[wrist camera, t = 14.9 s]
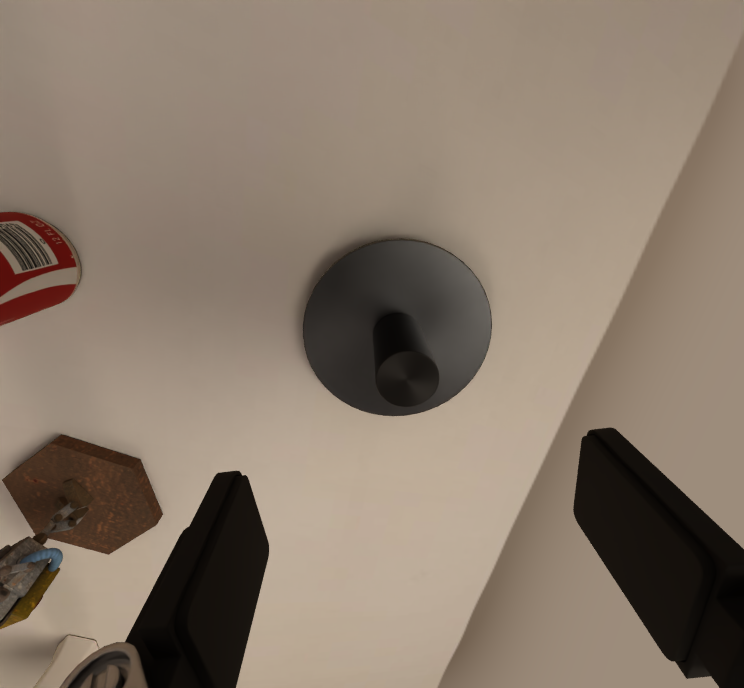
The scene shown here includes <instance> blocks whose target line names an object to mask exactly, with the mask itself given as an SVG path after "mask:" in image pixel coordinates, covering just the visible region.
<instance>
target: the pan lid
mask: <svg viewBox="0 0 744 688" xmlns="http://www.w3.org/2000/svg"><path fill="white" fill-rule="evenodd" d="M491 329H492V320H491V311H490V306H489V301H488V299H487V296H486V293H485V291H484V289H483V287H482V285H481V283H480V282H479V280H478V278H477V277H476V276H475V275H474V273H473V272H472V271H471V269H470V268H469V267H467V266H466V265H465V264H464V263H463V262H462V261H461V260H460V259H458V258H457V257H456V256H454V255H453V254H452V253H450V252H448V251H446V250H445V249H443V248H441V247H439V246H436V245H433V244H431V243H428V242H424V241H419V240H414V239H402V238H399V239H386V240H381V241H376V242H372V243H369V244H366V245H363V246H361V247H359V248H357V249H355V250H353V251H351V252H349V253H347V254H346V255H344V256H343V257H342V258H340V259H339V260H337V261H336V262H335V263H334V264H333V265H332V266H331V267H330V268H329V269H328V270H327V271H326V272H325V273H324V275H323V276H322V277H321V278H320V280H319V281H318V283H317V285H316V286H315V288H314V290H313V292H312V294H311V296H310V298H309V301H308V304H307V307H306V310H305V315H304V322H303V339H304V347H305V351H306V354H307V358H308V360H309V362H310V365H311V367H312V369H313V371H314V372H315V374H316V376H317V377H318V379H319V380H320V381H321V382H322V384H323V385H324V386H325V387H326V388H327V389H328V390H329V391H330V392H331V393H332V394H333V395H334V396H336V397H337V398H339V399H340V400H341V401H343V402H345V403H346V404H348V405H350V406H352V407H354V408H357V409H359V410H361V411H365V412H368V413H372V414H377V415H383V416H404V415H411V414H417V413H420V412H424V411H427V410H430V409H432V408H435V407H437V406H439V405H441V404H443V403H445V402H446V401H448V400H450V399H451V398H452V397H454V396H455V395H457V394H458V393H459V392H460V391H461V390H462V389H463V388H465V387H466V386H467V384H468V383H469V382H470V381H471V380H472V379H473V377H474V376H475V375H476V373H477V372H478V370H479V369H480V367H481V365H482V363H483V361H484V359H485V356H486V353H487V351H488V348H489V343H490V339H491Z"/></svg>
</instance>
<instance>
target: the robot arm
mask: <svg viewBox="0 0 744 688" xmlns="http://www.w3.org/2000/svg"><path fill="white" fill-rule="evenodd" d="M573 510H574V515H575V518H576V521H577V523H578V524H579V526H580V527H581V529H582V530H583V532H584V533H585V535H586V536H587V538H588V540H589V541H590V543H591V544H592V546H593V547H594V549H595V550H596V552H597V553H598V555H599V556H600V558H601V559H602V561H603V562H604V564H605V566H606V567H607V569H608V570H609V572H610V573H611V575H612V576H613V578H614V579H615V581H616V582H617V584H618V585H619V587H620V588H621V590H622V592H623V593H624V595H625V596H626V598H627V599H628V601H629V602H630V604H631V605H632V607H633V608H634V610H635V612H636V613H637V614H638V616H639V618H640V619H641V620H642V622H643V624H644V625H645V627H646V628H647V630H648V631H649V633H650V635H651V636H652V638H653V639H654V641H655V642H656V644H657V645H658V647H659V648H660V649H661V651H662V653H663V654H664V655H665V656H666V658H667V659H669V660H670V661H675V662H676V663H677V665H678V666H679V668H680V669H681V671H682V672H683V674H684V675H685V677H686V678H687V679H688V678H698V677H707V676H712V678H713V679H714V681H715V682H716V683H717V685H718V686H719V688H744V549H743V548H742V547H741V546H740V545H739V544H738V543H736V542H735V541H734V540H733V539H732V538H731V537H730V536H729V535H728V534H727V533H726V532H725V531H723V529H722V528H720V527H719V526H718V525H717V524H716V523H715V522H714V521H713V520H712V519H711V518H710V517H709V516H708V515H707V514H705V513H704V512H703V511H702V510H701V509H700V508H699V507H698V506H697V505H696V504H695V503H694V502H693V501H691V500H690V499H689V498H688V497H687V496H686V495H685V494H684V493H683V492H682V491H681V490H680V489H679V488H678V487H677V486H676V485H675V484H674V483H672V482H671V481H670V480H669V479H668V478H667V477H666V476H665V475H664V474H663V473H662V472H661V471H660V470H659V469H658V468H656V467H655V466H654V465H653V464H652V463H651V462H650V461H649V460H648V459H647V458H646V457H645V456H644V455H643V454H642V453H640V452H639V451H638V450H637V449H636V448H635V447H634V446H633V445H632V444H631V443H630V442H629V441H628V440H627V439H626V438H624V437H623V436H622V435H621V434H620V433H619V432H618V431H617V430H616V429H614V428H603V429H594V430H590V431H589V432H588V433H587V436H584V437H583V438H582V441H581V450H580V458H579V466H578V475H577V483H576V491H575V499H574V509H573ZM268 556H269V543H268V540H267V536H266V533H265V530H264V527H263V524H262V521H261V517H260V514H259V511H258V508H257V505H256V502H255V498H254V495H253V492H252V489H251V486H250V483H249V479H248V477H247V476H246V475H243V476H242V474H241V473H240V471H231V472H222V473H218V474H216V476H215V477H214V479H213V481H212V483H211V485H210V487H209V489H208V491H207V493H206V495H205V497H204V499H203V501H202V503H201V505H200V507H199V509H198V511H197V512H196V514H195V516H194V518H193V520H192V522H191V524H190V526H189V527H187V528H186V529H185V530H184V531H183V532H182V534H181V535H180V537H179V539H178V541H177V543H176V545H175V547H174V549H173V550H172V552H171V554H170V556H169V558H168V560H167V562H166V564H165V566H164V568H163V570H162V572H161V574H160V575H159V577H158V579H157V581H156V583H155V585H154V587H153V589H152V591H151V593H150V595H149V597H148V599H147V601H146V602H145V604H144V606H143V608H142V610H141V612H140V614H139V616H138V618H137V620H136V622H135V624H134V626H133V627H132V629H131V631H130V633H129V635H128V637H127V639H126V641H125V642H116V643H113V644H110V645H107V646H104V647H102V648H101V649H99V650H97V651H95V652H94V653H92V654H90V655H89V656H88V657H87V658H86V659H84V660H83V661H82V662H81V663H80V664H78V665H77V666H76V668H75V669H74V670H73V671H72V672H71V673H70V674H69V675H68V676H67V677H66V679H65V680H64V682H63V683H62V685H61V686H60V688H236V685H237V681H238V677H239V673H240V669H241V665H242V661H243V657H244V653H245V649H246V645H247V641H248V637H249V633H250V629H251V625H252V621H253V617H254V613H255V609H256V605H257V601H258V597H259V593H260V589H261V585H262V581H263V577H264V573H265V569H266V565H267V561H268Z"/></svg>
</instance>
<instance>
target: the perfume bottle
mask: <svg viewBox="0 0 744 688" xmlns="http://www.w3.org/2000/svg"><path fill="white" fill-rule="evenodd" d="M97 650H99V649H98V646H97V643H96V641H94V640H90V639H86V638H81V637H76V636H72V635H68V636H66V637H65V639H64V640H63V641H62V642H61V643H60V644H59V645H58V646H57V649H56V651H55V654H54V656H53V658H52V661H51V663H50V665H49V667H48V668H47V670H46V671H45V672H44V674H43V675H42V677H41V678H40V679H39V681H38V682H37V683H36V685H35V686H34V688H60V686H61V685H62V683H63V682H64V680H65V679H66V677H67V676H68V675H69V674H70V673H71V672H72V671H73V670H74V669H75V668H76V666H77V665H78V664H80V663H81V662H82V661H83V660H84V659H86V658H87V657H88V656H89V655H90V654H92V653H94V652H95V651H97Z"/></svg>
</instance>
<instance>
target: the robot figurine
mask: <svg viewBox="0 0 744 688" xmlns="http://www.w3.org/2000/svg"><path fill="white" fill-rule="evenodd" d="M2 481H3V483H4V484H5V486H6V487H7V489H8V491H9V492H10V494H11V496H12V497H13V499H14V501H15V502H16V504H17V505H18V507H19V509H20V510H21V512H22V514H23V515H24V517H25V519H26V520H27V522H28V523H29V525H30V527H31V528H32V530H33V532H34V533H35V536H34V537H33V538H31V537H29V536H28V537H26V538H25V539H23V540H21V541H19V542H18V543H16V544H14V545H12V546H10V545H7V546H5V547H4V548H2V549H1V550H0V629H2V628H4V627H7V626H9V625H12V624H14V623H17V622H19V621H22V620H24V619H26V618H28V616H29V615H30V613H31V612H32V611H33V610H34V609H35V608H36V606H37V605H38V604H39V602H40V601H41V599H42V597H43V594H44V593H45V591H46V590H47V588H48V587H49V586H50V584H51V583H52V581H53V580H54V578H55V577H56V575H57V574H58V572H59V571H60V568H58V567H59V565H60V564H61V561H62V558H63V554H62V552H61V551H60V550H59V549H57V548H49V549H47V548H46V547H44V546H43V544H44V543H46V541H47V539H48V538H49V539H53V540H57V541H60V542H64V543H68V544H72V545H75V546H79V547H83V548H86V549H90V550H94V551H98V552H101V553H105V554H110V553H112V552H114V551H115V550H117V549H118V548H120V547H122V546H123V545H125V544H126V543H128V542H130V541H131V540H133V539H134V538H136V537H138V536H139V535H141V534H143V533H144V532H146V531H147V530H149V529H151V528H152V527H154V526H155V525H157V523H158V522H159V520H160V518H161V517H162V515H163V513H162V511H161V509H160V506H159V504H158V501H157V499H156V497H155V494H154V492H153V489H152V487H151V484H150V482H149V480H148V477H147V475H146V472H145V470H144V468H143V465H142V463H141V460H140V459H137V458H134V457H130V456H127V455H124V454H121V453H118V452H115V451H112V450H108V449H105V448H102V447H99V446H96V445H93V444H90V443H87V442H83V441H80V440H77V439H74V438H71V437H68V436H65V435H60V436H59V437H58V438H56V439H55V440H54V441H52V442H51V443H50V444H48V445H47V446H46V447H44V448H43V449H42V450H40V451H39V452H38V453H36V454H35V455H34V456H32V457H31V458H30V459H28V460H27V461H26V462H24V463H23V464H22V465H20V466H19V467H18V468H16V469H15V470H14V471H12V472H11V473H10V474H9V475H7V476H6V477H5V478H4V479H3V480H2ZM50 559H52V560H51V562H50V563H48V562H49V560H50Z"/></svg>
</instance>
